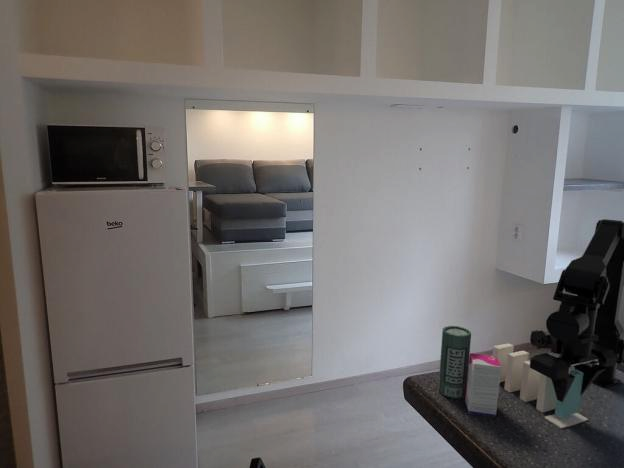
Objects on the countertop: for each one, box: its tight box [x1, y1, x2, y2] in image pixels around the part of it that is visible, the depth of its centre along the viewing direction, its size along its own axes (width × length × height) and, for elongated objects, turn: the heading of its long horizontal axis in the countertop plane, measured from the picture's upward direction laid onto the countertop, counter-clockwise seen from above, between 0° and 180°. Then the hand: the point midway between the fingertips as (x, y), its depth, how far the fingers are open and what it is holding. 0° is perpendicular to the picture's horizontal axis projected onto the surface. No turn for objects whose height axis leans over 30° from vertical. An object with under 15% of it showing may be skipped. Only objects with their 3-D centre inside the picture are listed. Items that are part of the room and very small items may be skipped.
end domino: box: [554, 369, 583, 417], centre depth 94 cm, size 2×5×9 cm, turn 113°
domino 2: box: [504, 350, 530, 393], centre depth 106 cm, size 2×5×9 cm, turn 113°
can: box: [438, 325, 472, 400], centre depth 104 cm, size 6×6×15 cm
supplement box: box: [464, 352, 501, 418], centre depth 97 cm, size 6×6×12 cm
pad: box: [544, 412, 589, 430], centre depth 94 cm, size 8×4×1 cm, turn 113°
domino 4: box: [535, 373, 557, 413], centre depth 98 cm, size 2×5×9 cm, turn 113°
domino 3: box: [519, 360, 540, 403], centre depth 102 cm, size 2×5×9 cm, turn 113°
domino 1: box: [491, 343, 515, 383], centre depth 110 cm, size 2×5×9 cm, turn 113°
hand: (568, 398), depth 94 cm, fingers closed on end domino, 5 cm apart
